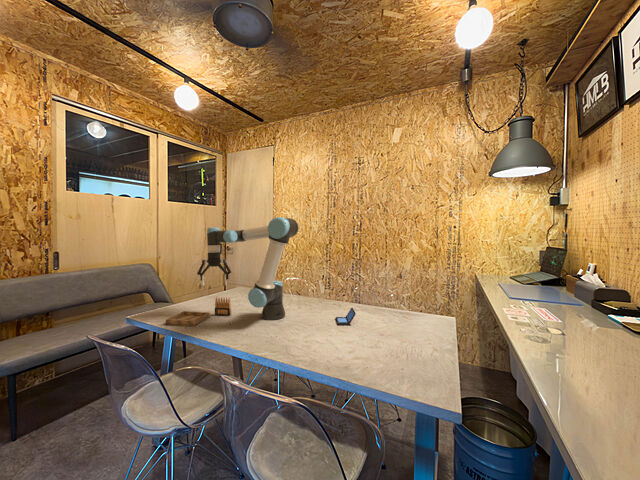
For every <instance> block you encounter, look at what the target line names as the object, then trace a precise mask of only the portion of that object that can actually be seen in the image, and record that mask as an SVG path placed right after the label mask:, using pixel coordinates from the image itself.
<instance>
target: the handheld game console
mask: <svg viewBox="0 0 640 480" xmlns="http://www.w3.org/2000/svg"><path fill="white" fill-rule="evenodd" d="M354 317H356V312H355V310H354V308H353V307H351V308H350V310H349V311H348V313H347V314H346V315H345V316H336V317H335V322H336V325H337V326H340V327H342V326H351V323H352V322H353V319H354Z"/></svg>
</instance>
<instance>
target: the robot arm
mask: <svg viewBox="0 0 640 480" xmlns="http://www.w3.org/2000/svg"><path fill="white" fill-rule="evenodd" d="M298 223H299V222H297V221H296V219H294V218H290V217H284V216H279V217H274V218H273V219H271V220H270V221H269V223H268V225H264V226H258V227H252V228H245V229H241V230H232V229H230V230H229V229H228V230H221V229H220V228H219V227H208V228H206V230H207V231H206V238H207V239H206V240H207V241H206V243H207V244H206V246H207V259H202V260H201V261H202V262H201V264H200V266H199V268H198V271H197V272H196V274H197V275H198V276H200V281H202V282H201V284H202V286H201V287H204V286H206V279H205V278H206V275H205V273H206V272H207V271H208V270H209V269H210V267H216V268H217V267H218V268H219V269H220V270H221V271H222V272H223V273H224V286H228V280H229V275H230V274H231V273H232V271H231V267H229V265H228V263H227V259H226V258H224V259H221V243H223V244H224V243H228V244H230V243H232V244H233V243H243V242H247V241H254V240H255V241H256V240H262V239H267V238H268V239H269V242H268V247H267V250H266V253H265V254H266V255H265V258H264V261H263V264H262V268H261V270H260V273H259V277H258V279H257V280H255V282H254V286H253V288H251V289H250V290H249V292H248V293H247V299H248V302H249V304H250V305H251V306H253V307H254V308H257V309H258V308H262V311H261V318H262V319H263V320H265V321H276V320H281V319H283V318H285V317H286V310H285V307H284V304H283V297H284V294H283V292H284V291H283V290H284V285H283V281H281V280H275V279H276V274H277V272H278V269H279V266H280V261H281V259H282V255H283V252H284V248H285V246H286V245H288V244H289V242H290V238H294V236H296V235H297V234H298V232H299V230H300V229H299V224H298ZM206 263H207V266H206V267H205V265H206ZM221 263H223V265H224V266H223V265H222V264H221ZM204 267H205V268H204Z"/></svg>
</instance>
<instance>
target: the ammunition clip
mask: <svg viewBox="0 0 640 480" xmlns="http://www.w3.org/2000/svg"><path fill="white" fill-rule="evenodd" d="M214 306H215V307H214V316H218V317H219V316H221V317H222V316H224V317H230V316H232V308H231V298H230V297H227V296H226V297H224V296H221V297H219V296H218V297H217V296H216V297H215V303H214Z"/></svg>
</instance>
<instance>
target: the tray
mask: <svg viewBox="0 0 640 480" xmlns="http://www.w3.org/2000/svg"><path fill="white" fill-rule="evenodd" d="M209 318H211V312H208V311H207V312H205V311H188V310H187V311H186V310H182V311H181V312H179V313H177V314H175V315H173V316H170V317H169V318H166V319H165V325H166V326H176V327H177V326H181V327H196V326H197V325H200V324H202V323H203V322H204V321H206V320H209Z"/></svg>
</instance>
